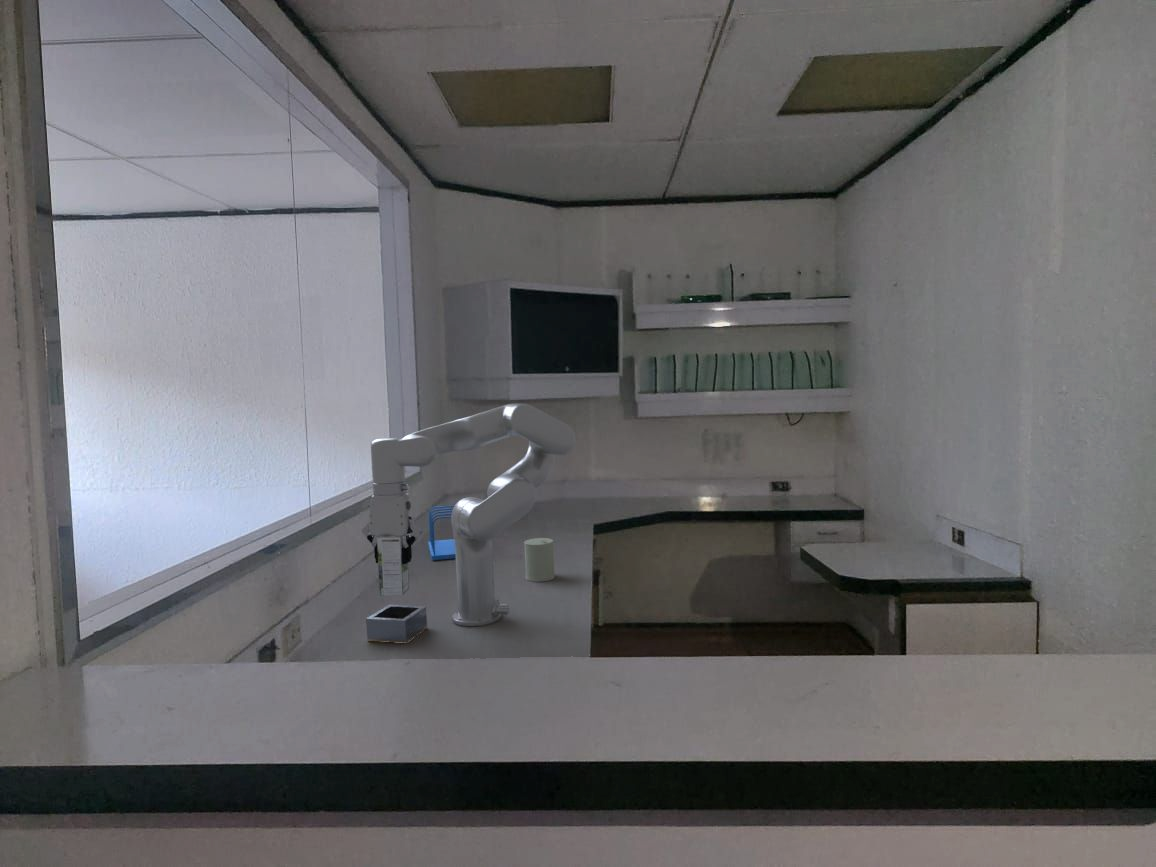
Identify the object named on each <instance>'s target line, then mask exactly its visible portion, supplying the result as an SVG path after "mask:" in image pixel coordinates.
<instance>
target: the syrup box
mask: <svg viewBox="0 0 1156 867" xmlns="http://www.w3.org/2000/svg"><path fill="white" fill-rule="evenodd" d="M377 545H378V563H377V565H378V583H379V585H378V586H379V596H380V597H390V596H404V595H405V593H406V592H408V590H410V574H409V562H408V563H407V564H403V563H402V548H403V544H402V542H401V537H398V536H379V537H378V538H377Z"/></svg>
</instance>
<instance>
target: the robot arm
mask: <svg viewBox="0 0 1156 867" xmlns="http://www.w3.org/2000/svg"><path fill="white" fill-rule="evenodd" d="M511 437H512V438H513V437H521V438H523V439H525V440H527V441H528V448H527V452H526V454H525V455H524V457H522V459H520V460H518V462H517V463H516V464H514V465H513V466H511V467H510V468H508V469H507V470H506V471H504V472H503V473H502V474H500V475H499V476H497V477H496V478H494V479H493V480H492V481H491V482H490V483H489V485H488V487H487V491H486V494H487V498H485V499H482V498H479V497H475V496H467V497H464V498H461V499H460V500H459V501H457V502H456V503H455V506H454V507H452V508H453V510H451V511H452V512H451V513H452V515H450V516H451V518H450V523H451V528H452V535H453V539H454V542H455V554H456V558H455V572H456V575H455V576H456V591H457V592H456V593H457V609H458V610H456V611H455V612H454V613H453V614H452V621H453V623H454V624H456V625H459V626H464V627H478V626H485V625H490V624H493V623H495V622H497V621H499V620H501V618H502V615H509V614H510V613H511V612H510V611H511V610H510V609H511V608H510V606H509V604H507V603H506V604H503V603H502V604H501V603H499V598H496V597H495V596H496V592H495V578H494V577H495V575H494V549H493V542H492V540H493V539H494V538H497V537H498V536H499V535H501V534H502V533H504V532H505V531H506V530H508V529H509V528H511V526H513V525H515V524H516V523H517V522H518V521H520V520H521V519H522V518H524V517H525V516H526V515H527V514H528V513H530V512H531V510H532V508H533V507H534V505H535V504H536V501H537V488H539V487H540V486H541V485H543V483H545V482H546V481H547V480H548V478H549V477H550V475H551V473H552V471H553V468H554V464H555V460H556V456H565V455H566V454H569V453H570V452H571V451H572V450H573V449H574V448H575V445H576V441H577V440H576V434H575V432H574V430H573V429H572V427H571V426H570V425H568V424H567V423H565V422H563V421H561V420H560V419H558V418H555V417H553V416H552V415H550V414H548V413H546V412H545V411H543V410H541V409H539V408H537V407H535V406H533V405H531V404H528V403H508V404H504V405H501V406H498V407H495V408H491V409H489V410H485V411H482V412H479V413H476V414H473V415H469V416H466V417H462V418H459V419H454V420H453V421H449V422H445V423H442V424H439V425H434V426H432V427H431V426H430V427H427V428H424V429H421V430H419V431H418V430H417V431H415V432H412V433H410V434H407V435H405V436H404V437H402V438H398V437H384V438H376V439H374V440H372V442H370V443H371V444H370V454H371V455H370V456H371V457H370V458H371V473H372V475H371V476H372V490H373V492H372V494H373V495H371V498H370V502H369V503H370V504H369V511H368V512H369V517H368V520H369V522H368V523H367V524H366V525H365V526H364V527H363V528H362V529H361V532H362V534H363V535H364V537H366V539H367V540H368V541H369V543H370V544H371V546H372V547H373V550H374V551H373V552H374V559H375V563H376V564H378V545H377V538H378V537H379V536H398V537H401V542H402V544H403V548H402V563H403V564H407V563H408V564H409V563H410V562H411V561H412V557H413V555H412V554H413V553H412V546H413V545H414V543H415V542H416V541H417V540H418V538H419V537H420V536H421V535H422V534H423V529H422V528H420V527H419V526H418V524H416V522H415V517H414V516H415V515H414V509H413V504H412V500H411V496H410V493H407V491H410V490H411V485H410V484H407V483H406V482H407V481H406V477H405V472H406V471H405V467H413V468H414V467H415V468H416V467H417V468H422V467H428V466H430V465H432V464H433V463H434V462H435V461H436V460H437V458H438V456H439V455H442V454H447V453H451V452H459V451H460V452H461V451H471V450H477V449H481V448H483V447H486V446H488V445H492V444H494V443H497V442H500V441H504V440H506V439H510V438H511ZM410 534H412V535H410Z"/></svg>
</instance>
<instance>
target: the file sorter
mask: <svg viewBox="0 0 1156 867" xmlns="http://www.w3.org/2000/svg"><path fill="white" fill-rule="evenodd" d="M455 505H456V504H455ZM455 505H453V504H452V505H445V506H444V505H441V506H440V505H439V506H434V507H432V508H430V510H429V513H428V523H429V541H427V546H428V549H429V553H430V558H431V561H440V560H449V559H456V554H455V542H454V538H453V539H440V540H435V522H436V521H437V520H439V519H440V520H441V519H451V515H452V510H453V508H454V506H455Z"/></svg>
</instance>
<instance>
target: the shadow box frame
mask: <svg viewBox="0 0 1156 867" xmlns="http://www.w3.org/2000/svg"><path fill="white" fill-rule="evenodd" d="M365 622H366V637H367V639H366V640H367V642H368V641H389V642H403V643H404V642H406V643H407V642H408V641H409V640H411V639H412V638H413V637H415V636H416V635H417V634H419V633H420V632H422V631H423V630H424V629H426V628H427V629H428V620H427V606H425V605H423V606H421V605H420V606H419V605H406V604H405V605H403V604H387V605H386V606H384V607H381V609H379V610H378V611H376V612H374V613H373V614H371V615H370V616H368V617H367V618H365ZM427 629H426V630H427ZM424 631H425V630H424ZM424 631H423V632H424ZM423 632H422V633H423ZM420 634H421V633H420ZM420 634H419V635H420ZM415 638H416V637H415ZM411 641H412V640H411ZM407 644H408V643H407Z"/></svg>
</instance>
